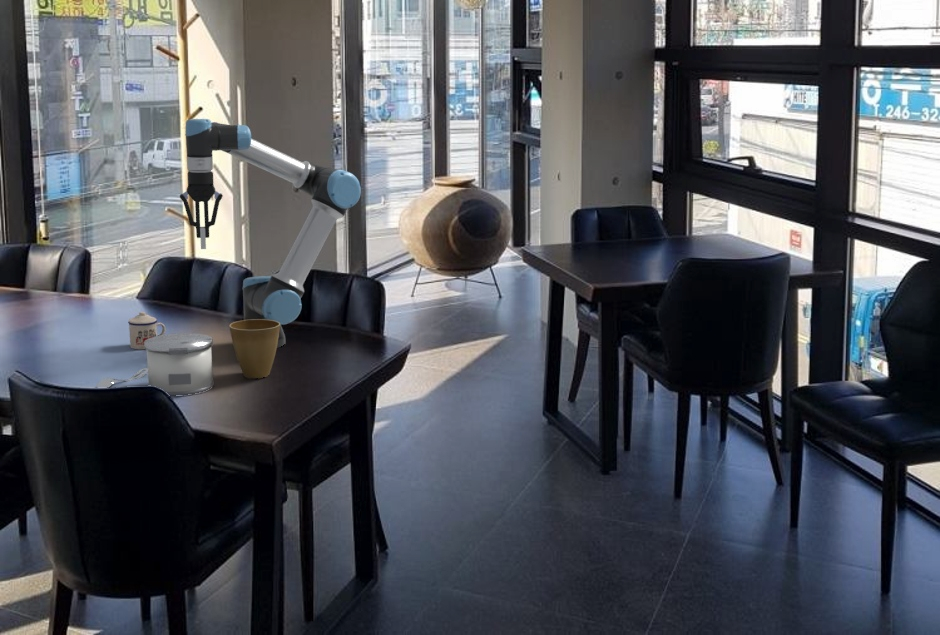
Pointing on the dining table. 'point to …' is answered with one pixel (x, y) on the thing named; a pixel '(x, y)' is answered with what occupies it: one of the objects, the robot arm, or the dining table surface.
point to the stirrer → (109, 381)
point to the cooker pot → (180, 372)
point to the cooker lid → (178, 343)
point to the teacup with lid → (142, 330)
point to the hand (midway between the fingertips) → (203, 248)
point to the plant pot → (255, 345)
